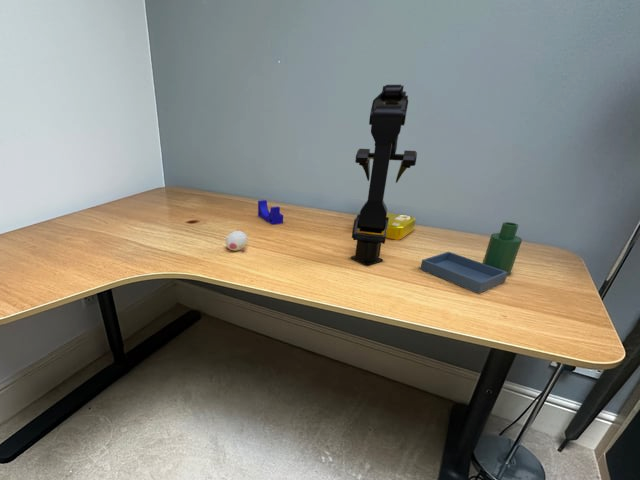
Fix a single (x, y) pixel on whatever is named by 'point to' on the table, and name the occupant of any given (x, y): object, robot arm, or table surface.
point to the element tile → (397, 226)
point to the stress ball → (236, 240)
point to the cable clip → (269, 213)
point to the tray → (464, 271)
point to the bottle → (503, 248)
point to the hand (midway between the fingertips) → (382, 181)
